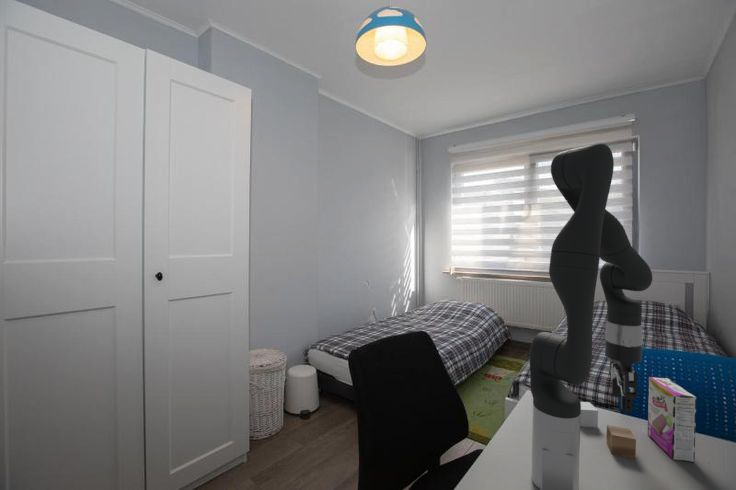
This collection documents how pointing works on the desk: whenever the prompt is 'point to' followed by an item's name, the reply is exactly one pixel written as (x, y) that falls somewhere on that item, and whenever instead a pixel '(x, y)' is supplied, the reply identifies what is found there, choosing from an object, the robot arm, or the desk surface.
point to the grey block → (588, 415)
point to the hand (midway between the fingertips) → (621, 403)
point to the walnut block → (621, 441)
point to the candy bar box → (672, 418)
